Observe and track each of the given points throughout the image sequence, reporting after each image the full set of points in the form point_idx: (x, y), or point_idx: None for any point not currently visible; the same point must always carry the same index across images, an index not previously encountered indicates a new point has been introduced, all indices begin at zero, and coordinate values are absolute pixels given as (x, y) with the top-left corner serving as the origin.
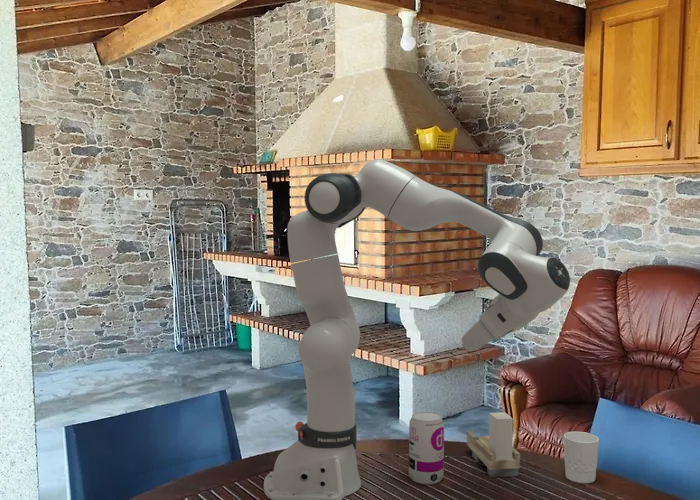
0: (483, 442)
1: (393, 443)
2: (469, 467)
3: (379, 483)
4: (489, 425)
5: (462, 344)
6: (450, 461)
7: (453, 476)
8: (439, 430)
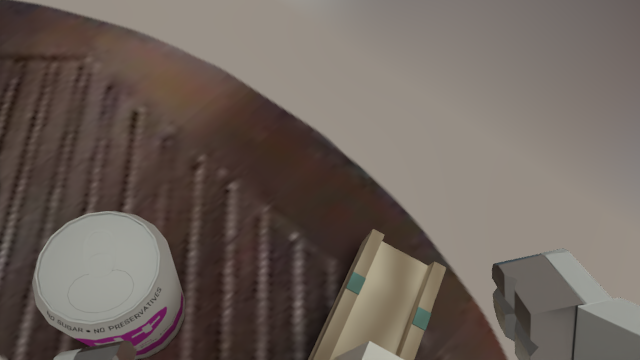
0: (378, 290)
1: (245, 110)
2: (289, 325)
3: (14, 265)
4: (355, 349)
5: (61, 357)
6: (277, 267)
7: (207, 345)
8: (101, 340)
